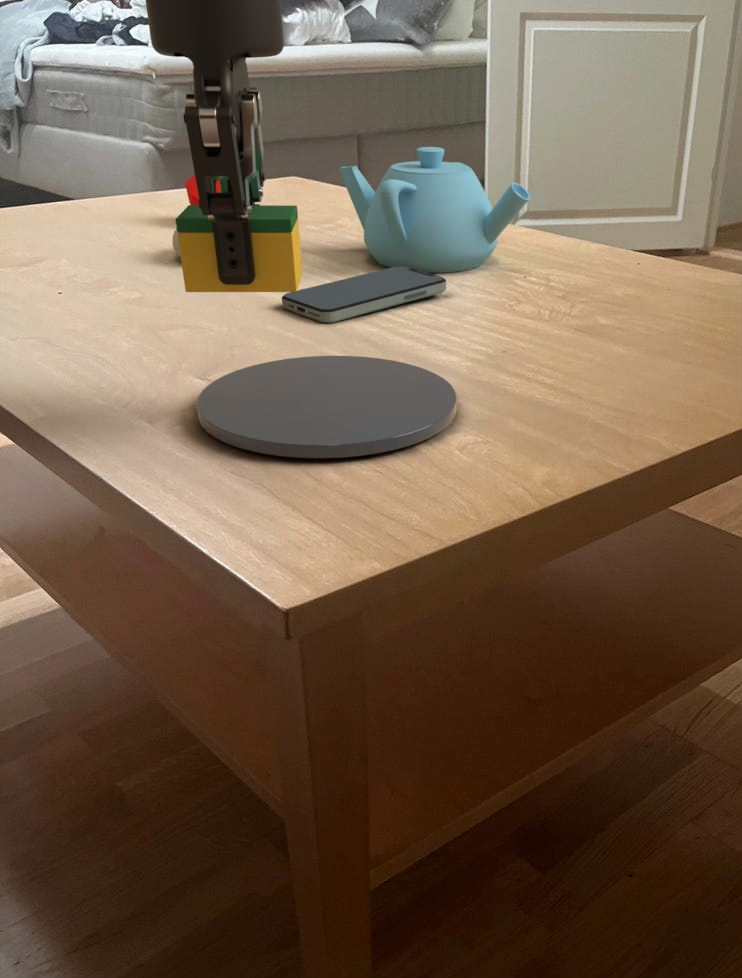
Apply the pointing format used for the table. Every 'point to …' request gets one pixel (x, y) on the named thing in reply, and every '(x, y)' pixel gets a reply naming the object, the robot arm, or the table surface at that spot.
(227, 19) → the robot arm
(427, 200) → the teapot
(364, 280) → the smartphone
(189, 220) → the sponge
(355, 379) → the plate
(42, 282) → the table surface
